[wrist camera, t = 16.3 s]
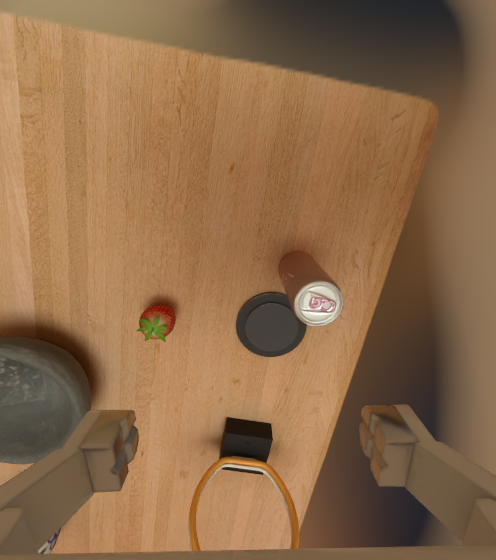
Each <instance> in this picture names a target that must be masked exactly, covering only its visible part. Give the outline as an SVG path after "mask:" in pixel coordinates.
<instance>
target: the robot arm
mask: <svg viewBox="0 0 496 560" xmlns="http://www.w3.org/2000/svg"><path fill="white" fill-rule="evenodd" d="M361 415H362V418H363V420H364V421H363V422H362V423H361V425H360V429H359V435H360V443H361V446H362V449H363V451H364V454H365V455H366V456H367V457H368V458H369V459H371V466H370V467H371V470H372V472H373V474H374V476H375V478H376V481H377V483H378V485H379V486H406V489H407V490H408V491H409V492H410V493H412V494H413V495H414V496H415V497H416V498H417V499H418V500H419V501H420V502H421V503H422V504H423V505H424V506H425V507H426V508H427V509H428V510H429V511H430V512H431V513H432V514H433V515H435V516H436V517H437V518H438V519H439V520H440V521H441V522H442V523H443V524H444V525H445V526H446V527H447V528H448V529H449V530H450V531H451V532H452V533H453V534H454V535H455V536H457V537H458V538H459V539H460V540H461V541H462V545H461V546H419V547H374V548H372V547H370V548H324V549H275V550H222V551H171V552H120V553H70V554H39V552H38V550H39V549H40V548H41V547H42V546H43V545H44V544H45V543H46V542H47V541H48V540H49V539H50V538H51V537H52V536H53V535H54V534H55V533H56V532H57V531H58V530H59V529H60V528H61V527H62V526H63V525H64V524H65V523H66V522H67V521H68V520H69V519H70V518H71V517H72V516H73V515H74V514H75V513H76V512H77V511H78V509H79V508H80V507H81V506H82V505H83V504H84V503H85V502H86V501H87V500H88V499H89V498H90V497H91V496H92V495H93V494H94V493H93V492H112V491H121V488H122V486H123V484H124V481H125V479H126V476H127V474H128V472H129V471H128V466H127V464H129V463H130V462H131V461H132V460H133V459H134V457H135V454H136V452H137V447H138V438H139V435H138V429H137V428H136V427H135V426H134V422H135V420H136V417H135V412H134V411H132V410H90V411H89V412H87V413H86V414H85V416H84V417H83V419H82V420H81V421H80V423H79V424H78V426H77V427H76V429H75V430H74V431H73V433H72V434H71V436H70V437H69V438H68V440H67V441H66V443H65V444H64V446H63V447H62V448H61V449H56V450H54V451H53V452H51V453H50V454H48V455H47V456H45V457H44V458H42V459H41V460H39V461H38V462H36V463H35V464H33V465H32V466H30V467H29V468H27V469H26V470H24V471H23V472H21V473H20V474H18V475H17V476H15V477H14V478H12V479H11V480H9V481H8V482H6V483H5V484H3V485H2V486H0V560H496V476H495V475H494V474H492V473H490V472H489V471H487V470H485V469H484V468H482V467H480V466H479V465H477V464H475V463H474V462H472V461H471V460H469V459H468V458H466V457H464V456H463V455H461V454H459V453H458V452H456V451H454V450H453V449H451V448H450V447H448V446H447V445H445V444H443V443H442V442H436V441H435V440H434V438H433V437H432V436H431V434H430V433H429V432H428V430H427V429H426V428H425V427H424V425H423V424H422V422H421V421H420V420H419V418H418V417H417V416H416V415H415V413H414V412H413V411H412V409H411V408H410V407H409V406H408V405H406V404H405V405H392V406H391V405H382V406H364V407H363V408H362V413H361Z"/></svg>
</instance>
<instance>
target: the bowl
mask: <svg viewBox="0 0 496 560" xmlns="http://www.w3.org/2000/svg"><path fill="white" fill-rule="evenodd" d="M90 408H91V390H90V386H89V382H88V379H87V377H86V374H85V372H84V370H83V368H82V367H81V365H80V364H79V362H78V361H77V360H76V359H75V358H74V357H73V356H72V355H71V354H70V353H68V352H67V351H65V350H64V349H62V348H60V347H58V346H56V345H54V344H51V343H49V342H46V341H42V340H38V339H33V338H26V337H1V338H0V462H3V463H11V464H31V463H36V462H38V461H39V460H41V459H42V458H44V457H45V456H47V455H48V454H50V453H51V452H53V451H54V450H56V449H61V448H62V447H63V446H64V444H65V443H66V441H67V440H68V438H69V437H70V436H71V434H72V433H73V431H74V430H75V429H76V427H77V426H78V424H79V423H80V421H81V420H82V419H83V417H84V416H85V414H86V413H87V412H89V411H90Z"/></svg>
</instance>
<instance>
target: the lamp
mask: <svg viewBox="0 0 496 560" xmlns="http://www.w3.org/2000/svg"><path fill="white" fill-rule="evenodd" d="M272 440H273V438H272V428H271V424H269V423H262V422H255V421H248V420H241V419H234V418H227V420H226V425H225V429H224V434H223V439H222V444H221V449H220V456H219V460H218V461H216V462H215V463H214V464H213V465H212V466H211V467H210V468H209V469H208V470H207V472H206V473H205V474H204V476H203V477H202V479H201V480H200V482H199V484H198V486H197V488H196V490H195V493H194V496H193V499H192V503H191V507H190V513H189V522H188V536H189V545H190V551H201V550H200V547H199V543H198V538H197V532H196V510H197V505H198V502H199V499H200V496H201V494H202V492H203V490H204V489H205V487H206V485H207V484H208V482H209V481H210V480H211V478H212V477H213V476H214V475H215V474H216V473H217V472H218V471H219V470H220V469H224V470H231V471H239V472H246V473H254V474H261V475H263V473H265V474H266V475H267V476H268V477H269V478H270V480H271V481H272V482H273V484H274V485H275V487H276V488H277V490H278V492H279V494H280V496H281V498H282V500H283V502H284V504H285V507H286V510H287V513H288V517H289V522H290V528H291V546H290V549H298V544H299V526H298V518H297V514H296V510H295V506H294V503H293V501H292V498H291V496H290V494H289V491H288V490H287V488H286V486H285V484H284V483H283V481H282V479H281V478H280V477H279V475H278V474H277V473H276V471H275V470H274V469H273V468H272V467H271V466H270V465H268V464H267V463H266V462H267V459H268V455H269V451H270V448H271V444H272Z"/></svg>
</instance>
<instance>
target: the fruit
mask: <svg viewBox="0 0 496 560" xmlns="http://www.w3.org/2000/svg"><path fill="white" fill-rule="evenodd" d="M139 325H140V329H138V330H136V331H142V332H143V334H144V335H145V336H146V338H145V341H146V340H148V339H149V338H150V339H161V340H163V341H164V342H165V336H167V335H168V334H169V333H170V332H171V331H172V330H173V327H174V325H175V313H174V311H173V310H172V309H171V308H170V307H168V306H164V305H155V306H151V307H149V308H147V309H146V310H145V311H144V312H143V313H142V315H141V317H140V320H139Z"/></svg>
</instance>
